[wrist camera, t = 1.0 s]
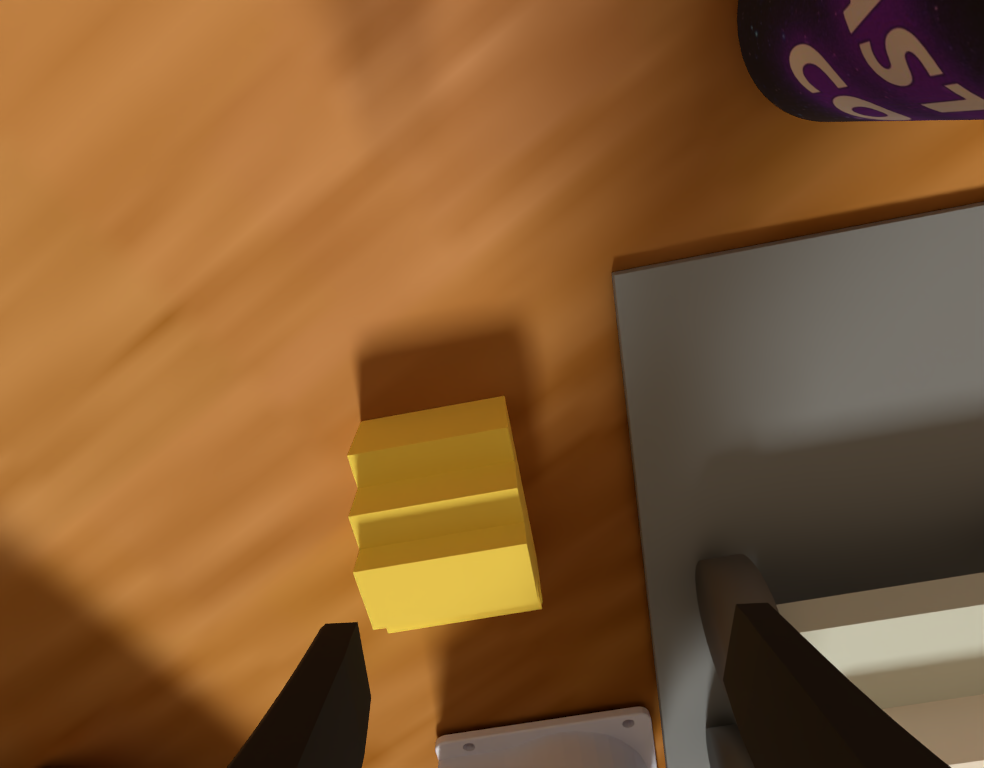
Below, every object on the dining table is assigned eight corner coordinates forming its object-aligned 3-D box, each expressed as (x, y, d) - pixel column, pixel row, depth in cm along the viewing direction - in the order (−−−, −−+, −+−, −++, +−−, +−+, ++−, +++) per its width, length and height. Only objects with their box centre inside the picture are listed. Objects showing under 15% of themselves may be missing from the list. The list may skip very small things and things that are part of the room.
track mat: (668, 785, 28) (670, 794, 28) (611, 272, 18) (614, 275, 18) (1083, 727, 27) (1092, 735, 27) (1257, 149, 17) (1274, 150, 17)
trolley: (708, 776, 27) (768, 947, 22) (691, 531, 22) (767, 673, 16) (1009, 734, 27) (1153, 899, 21) (1070, 469, 21) (1288, 595, 15)
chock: (410, 576, 23) (393, 686, 19) (362, 419, 21) (328, 502, 16) (536, 555, 23) (550, 662, 18) (504, 393, 20) (511, 470, 16)
